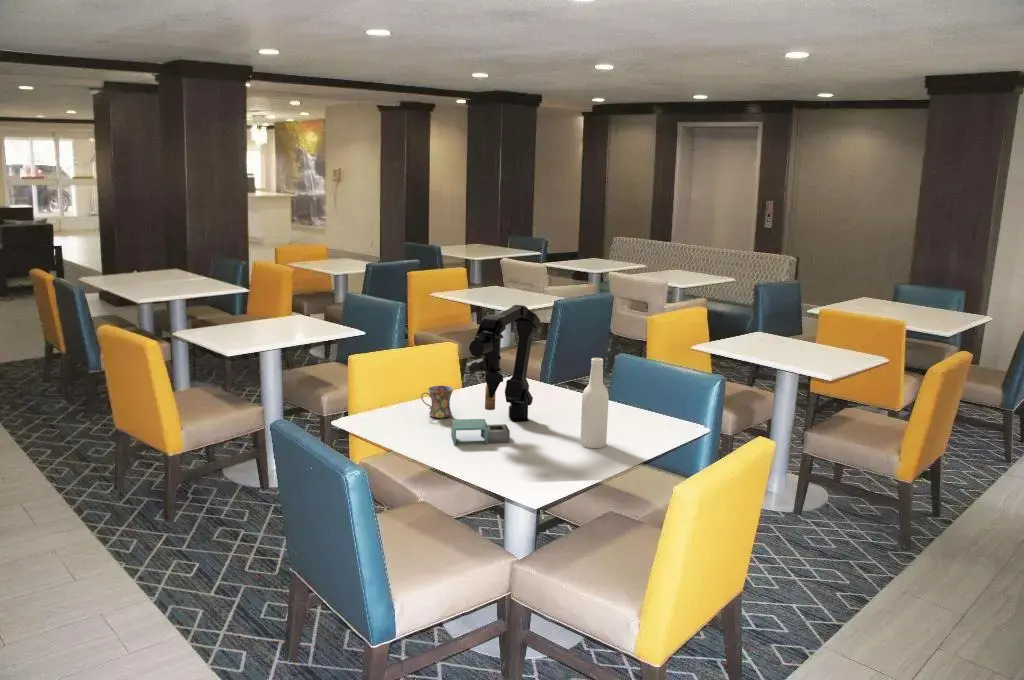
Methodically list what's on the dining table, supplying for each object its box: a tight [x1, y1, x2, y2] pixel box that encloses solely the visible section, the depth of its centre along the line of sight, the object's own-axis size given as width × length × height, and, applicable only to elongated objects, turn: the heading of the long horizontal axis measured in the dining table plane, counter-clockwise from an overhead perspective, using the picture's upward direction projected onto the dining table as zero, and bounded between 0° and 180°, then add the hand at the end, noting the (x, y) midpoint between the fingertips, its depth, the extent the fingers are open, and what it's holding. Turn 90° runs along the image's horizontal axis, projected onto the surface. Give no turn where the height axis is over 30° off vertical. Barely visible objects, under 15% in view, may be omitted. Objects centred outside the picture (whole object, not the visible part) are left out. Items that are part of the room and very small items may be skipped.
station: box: [450, 418, 511, 446], centre depth 284 cm, size 19×10×6 cm, turn 100°
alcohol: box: [579, 357, 610, 449], centre depth 279 cm, size 9×9×30 cm
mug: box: [420, 385, 454, 419], centre depth 309 cm, size 12×9×11 cm
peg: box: [484, 385, 496, 411], centre depth 290 cm, size 4×4×8 cm
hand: (490, 396), depth 290 cm, fingers closed on peg, 3 cm apart
